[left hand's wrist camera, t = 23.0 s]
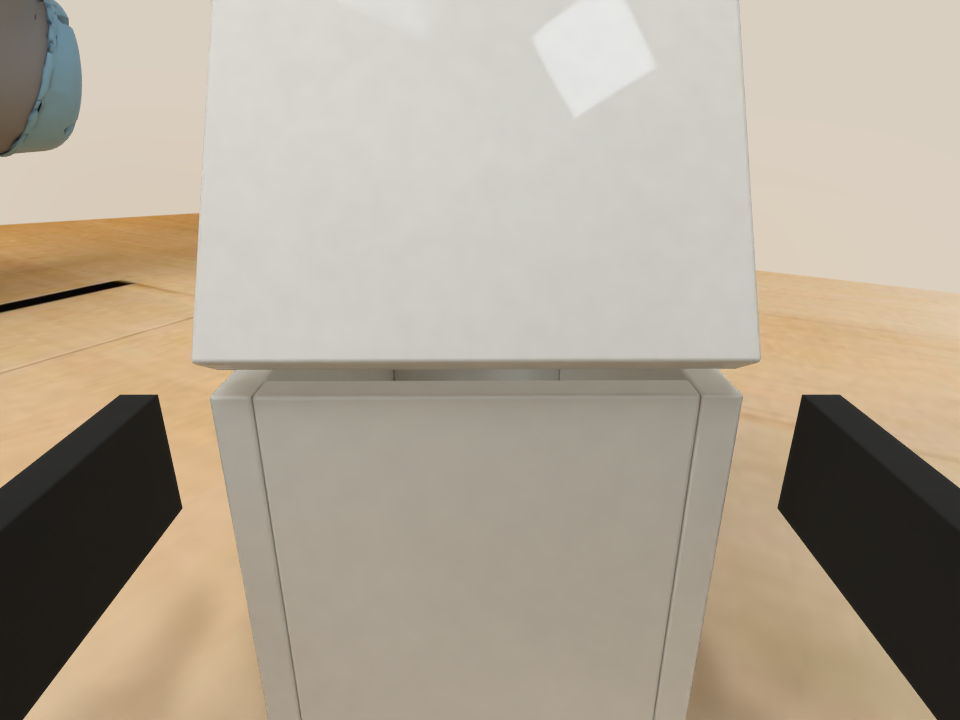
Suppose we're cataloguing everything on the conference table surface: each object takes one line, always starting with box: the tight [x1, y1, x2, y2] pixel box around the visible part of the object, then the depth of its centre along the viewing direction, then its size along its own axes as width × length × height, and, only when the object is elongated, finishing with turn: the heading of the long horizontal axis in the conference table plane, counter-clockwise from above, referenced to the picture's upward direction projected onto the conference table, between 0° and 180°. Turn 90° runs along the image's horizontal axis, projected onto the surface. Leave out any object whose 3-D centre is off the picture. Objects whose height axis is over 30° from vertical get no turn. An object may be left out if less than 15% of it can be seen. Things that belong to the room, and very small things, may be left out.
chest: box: [210, 369, 743, 720], centre depth 20 cm, size 17×9×9 cm, turn 1°
